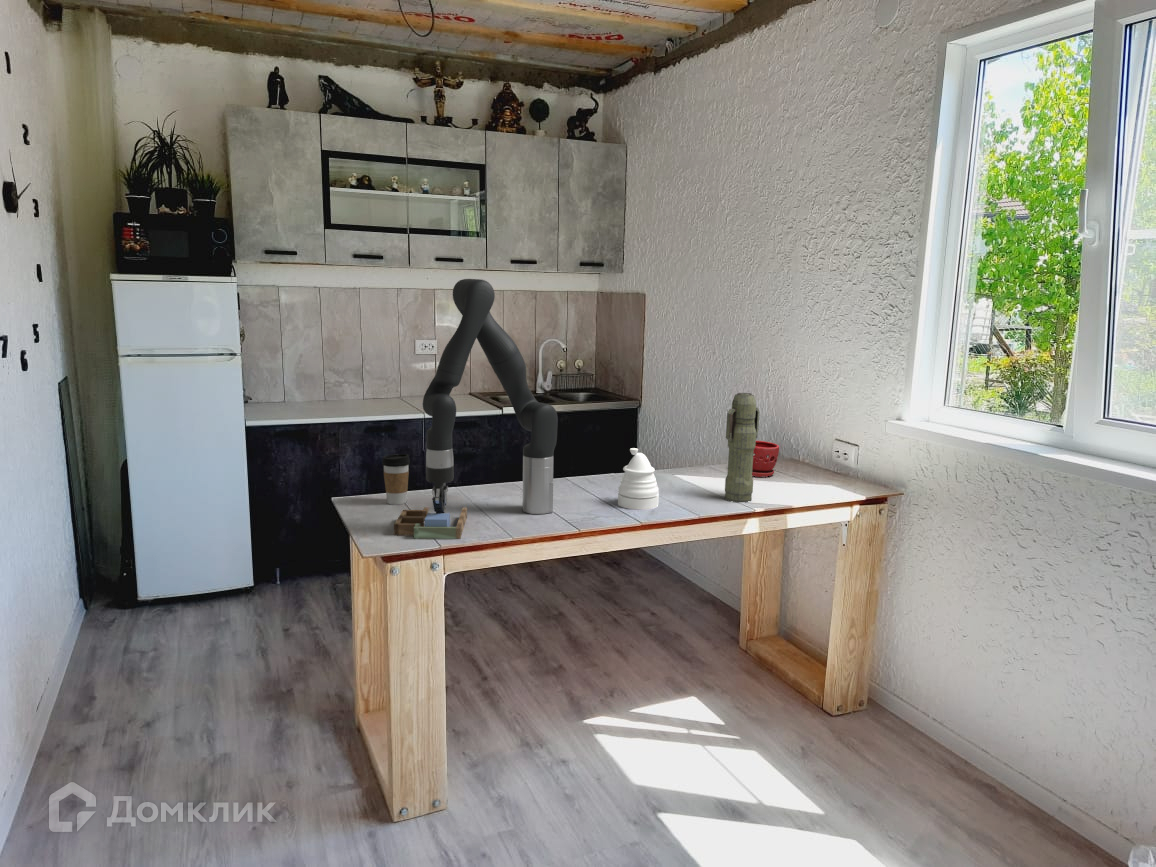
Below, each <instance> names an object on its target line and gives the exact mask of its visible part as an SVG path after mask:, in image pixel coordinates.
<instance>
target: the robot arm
mask: <svg viewBox="0 0 1156 867" xmlns="http://www.w3.org/2000/svg"><path fill="white" fill-rule="evenodd" d="M452 300H453V303H454V304H455V306H456V309H457V310H458V311H459V312H460V314H461V320H460V322H459V324H458V326H457V329H456V330H455V332H454V334H453V335H452V336H451V338H450V339H449V341H448V342H447V343H446V345H445V348H443V349H444V350H443V351H442V354H441V356H440V359H439V362H438V366H437V369H436V372H435V375H434V377H433V378H432V379H431V382H430V383H429V385H428V387H427V389H426V391H425V393H424V396H423V398H422V408H423V411H424V412H425V414H427V416H430V417H431V419H432V420H431V425H430V427H429V428H428V429H427V431H426V452H425V479H426V481H427V482H428V483H430V484H434V485H433V488H431V494H432V506H433V511H434V512H433V513H445V511H446V508H447V507H446V506H447V500H448V491H449V486H448V485H446V484H449V483H452V482H453V480H454V477H455V476H454V468H455V467H454V452H453V451H454V450H453V431H454V427H455V422H456V416H457V406H456V401H455V400H454V398H453V397H452V396H451V392H452V390H453V388H455V387H458V386H459V385H460V384H461V381H462V378H463V375H464V372H465V369H466V366H467V363H468V359H469V357H470V355H471V351H472V349H473V346H474V344H475V342H476V340H477V342H478V344H479V346H480V348H481V349H482V351H483V353H484V354H485V356H486V358H487V361H488V363H489V365H490V366H491V368H492V370H493V372H494V374H495V375H496V377H497V379H498V380H499V382H500V384H501V386H502V388H503V389H504V391H505V393H506V395H507V397H508V399H509V401H510V403H511V406H512V409H513V411H514V413H515V416H516V418H517V420H518V423H519V425H520V426H521V427H522V428H523V429H524V430H526V431H527V432H530V433H531V436H530V442H529V443H526V444H525V445H524V446H523V448H522V505H521V506H522V511H523V512H524V513H527V514H532V515H537V514H538V515H544V514H548V513H553V512H554V451H555V449H556V446H557V440H558V426H559V425H558V424H559V423H558V422H559V417H558V413H557V410H556V409H555V407H554V406H552V405H551V404H548V403H545V402H539V401H538V400H537V398H535V396H534V395H533V392H532V391H531V389H530V388H529V385H528V382H527V381H528V380H527V366H526V363H525V360H524V357H523V355H522V353H521V351H520V349H519V348H518V345H517V344H516V342H515V341H514V339H513V338H512V337H511V336H510V335H509V334H508V333H507V332H506V330H505V329H504V328H502V326H501V325H500V324H499V323H498V322H497V321H496V320H495V318H494V317H493V315H492V314H491V309H492V307H493V304H494V302H495V290H494V287H493V286H492V284H491V283H490V282H489V281H487V280H485V279H480V278H479V279H478V278H463V279H460V280H458V281H457V282H456V283H455V285H454V286H453V289H452Z"/></svg>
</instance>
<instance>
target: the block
mask: <svg viewBox="0 0 1156 867" xmlns="http://www.w3.org/2000/svg"><path fill="white" fill-rule="evenodd" d="M450 514H451V513H450V512H447V513H436V512H429V513H428V514H427V516H426V518H425V521H424V527H451V520H450V519H451V518H450V517H451V516H450Z"/></svg>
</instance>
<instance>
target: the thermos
mask: <svg viewBox="0 0 1156 867" xmlns="http://www.w3.org/2000/svg"><path fill="white" fill-rule="evenodd" d="M726 414H727V415H726V429H725V430H726V431H725V438H726V440H727V447H728V460H727V474H726V477H725V479H724V480H725V481H724V482H725V483H724V492H725V495H724V499H725V501H728V500H729V501H728V502H731V501H733V502H732V503H739V502H745V503H749V502H748V501H750V502H751V501H752V497H753V496H752V494H753V493H754V488H753V487H754V479H753V476H752V467H753V456H754V454H753V452H754V449H755V444H756V441H757V439H758V437H759V427H760V426H759V423H760V410H759V408H758V407H757V401H756V396H755V395H754V394H752V393H749V392H738V393H735V394H734V396H733V399H732V401H731V408H729V410H728V411H727V413H726Z"/></svg>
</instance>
